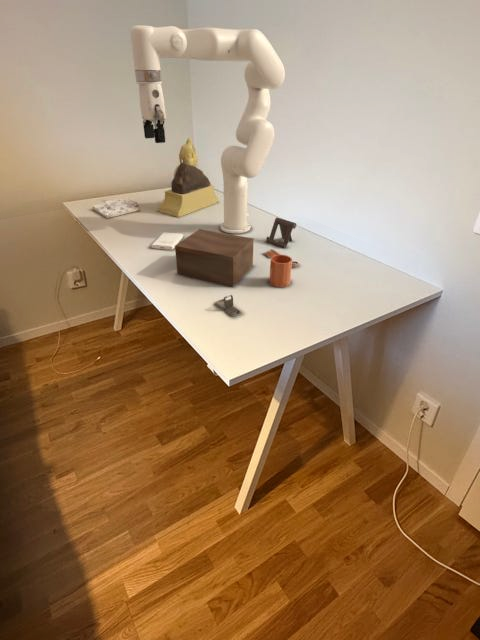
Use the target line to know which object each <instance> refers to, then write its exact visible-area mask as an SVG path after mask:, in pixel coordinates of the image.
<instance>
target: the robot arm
mask: <svg viewBox="0 0 480 640" xmlns="http://www.w3.org/2000/svg"><path fill="white" fill-rule="evenodd" d="M130 42H131V49H132V50H131V51H132V59H133V68H134V75H135V83H136V84H137V85H138V93H139V94H138V95H139V106H140V113H141V119H142V124H143V125H142V127H143V134H144V138H145V139H154V142H155V144H164V143H166V133H165V132H166V131H165V121H166V119H167V114H166V106H165V99H164V92H163V87H162V84H163V82H162V70H161V59H163V58H164V59H188V60H189V59H190V60H197V61H205V62H206V61H207V62H209V61H210V62H248V63H247V64H246V65H245V68H244V71H243V73H244V80H245V84H246V86H247V91H248V98H247V103H246V105H245V108H244V111H243V113H242V115H241V117H240V120H239V122H238V125H237V127H236V130H235V138H236V140H237V141H238V142H239V143H240V144H242V145H244V146H246V147H243V146H239V145H230V146H227V147H225V149H224V150H223V151H222V153H221V156H220V166H221V167H220V168H221V172H222V181H223V222H222V223H221V224H220V230H221V231H222V232H223V233H226V234H232V235H237V234H244V233H247V232H249V231H251V227H252V226H251V224H250V223H248V218H250V214H249V213H248V202H249V201H248V197H249V195H248V193H249V192H248V191H249V182H248V179H253V178H255V177H256V176H257V175H258V174H259V173H260V172H261V170H262V168H263V166H264V164H265V162H266V160H267V157H268V156H269V153H270V151H271V149H272V146H273V144H274V141H275V128H274V125H273V124H272V123H271V121H269V120H267V119H268V116H269V113H270V110H271V105H272V104H271V95H270V90H276V89H278V88H279V89H280V87H281V86H282V85H283V83H284V82H285V78H286V70H285V65H284V64H283V61H282V60H281V58H280V57H279V55H278V53H277V52H276V50H275V48H274V47H273V46H272V44H271V42H270V41H269V40H268V38H267V37H266V35H264V33H263V32H262V31H260V30H259V29H256V28H247V29H235V28H221V27H209V26H208V27H197V28H188V29H181V28H179V27H177V26H174V25H167V26H158V27H157V26H155V27H154V26H151V25H139V24H138V25H133V26H132V27H131V28H130Z"/></svg>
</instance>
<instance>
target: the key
mask: <svg viewBox="0 0 480 640" xmlns="http://www.w3.org/2000/svg"><path fill="white" fill-rule="evenodd" d="M263 255H264V256H266V257H267V258H271V257H272V256H274V255H281V254H280V253H279V252H277V251H275V250H274V249H270V250H269V251H266V252H263ZM298 266H299V262H298V261H292V268H295V267H298Z"/></svg>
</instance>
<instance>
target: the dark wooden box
mask: <svg viewBox="0 0 480 640" xmlns="http://www.w3.org/2000/svg"><path fill="white" fill-rule="evenodd" d="M254 240H255V238H253V237H248V236H242V235H237V234H232V233H226V232H221V231H214V230H209V229H203V228H198V229H197V230H196V231H194V232H193V233H192V234H190V235H188V236H187V237H185V238H184V239H182V240H180V242H179V243H178V244H177V245H175V247H174V252H175V263H176V274H177V275H178V276H183V277H187V278H190V279H191V278H192V279H195V280H196V279H197V280H201V281H205V282H208V283H209V282H210V283H214V284H219V285H222V286H227V287H232V288H234V287H235V286H236V285H237V284H238V283H239V282H240V281H241V279H242V278H243V277H244V276H246V274H247V273H248V272H250V270H251V269H252V268H253V266H254V242H255V241H254Z"/></svg>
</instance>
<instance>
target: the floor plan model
mask: <svg viewBox="0 0 480 640" xmlns="http://www.w3.org/2000/svg"><path fill="white" fill-rule="evenodd" d="M137 206H138V201H136V200H134V199H132V198H130V197H129V198H128V200H127V199H122V198H116V199H111V200H106V201H103V203H99V204H93V205H92V210H94V211H95V212H97V213H99V214H100V215H102V216H103V217H105V218H107V219H109V218H115V217H119V216H122V215H127V214H130V213H134V212H139V211H140V210H139V209H140V208H139V207H137Z"/></svg>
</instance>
